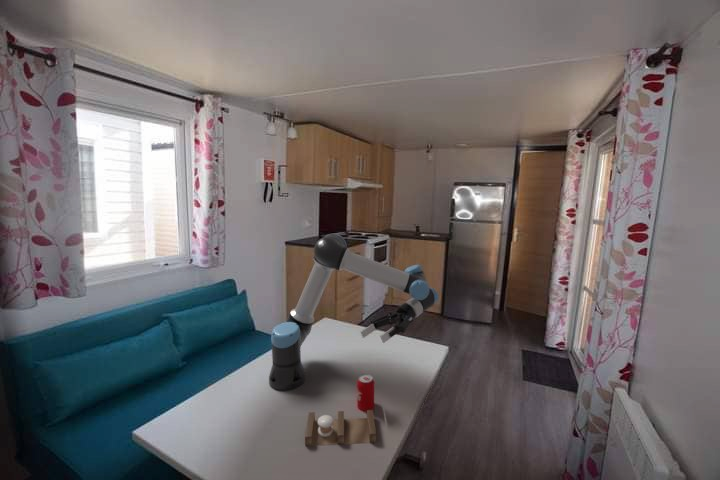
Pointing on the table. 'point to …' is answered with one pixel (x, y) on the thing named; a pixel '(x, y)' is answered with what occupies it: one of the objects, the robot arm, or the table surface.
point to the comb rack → (342, 430)
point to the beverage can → (365, 392)
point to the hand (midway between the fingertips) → (371, 337)
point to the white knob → (325, 426)
